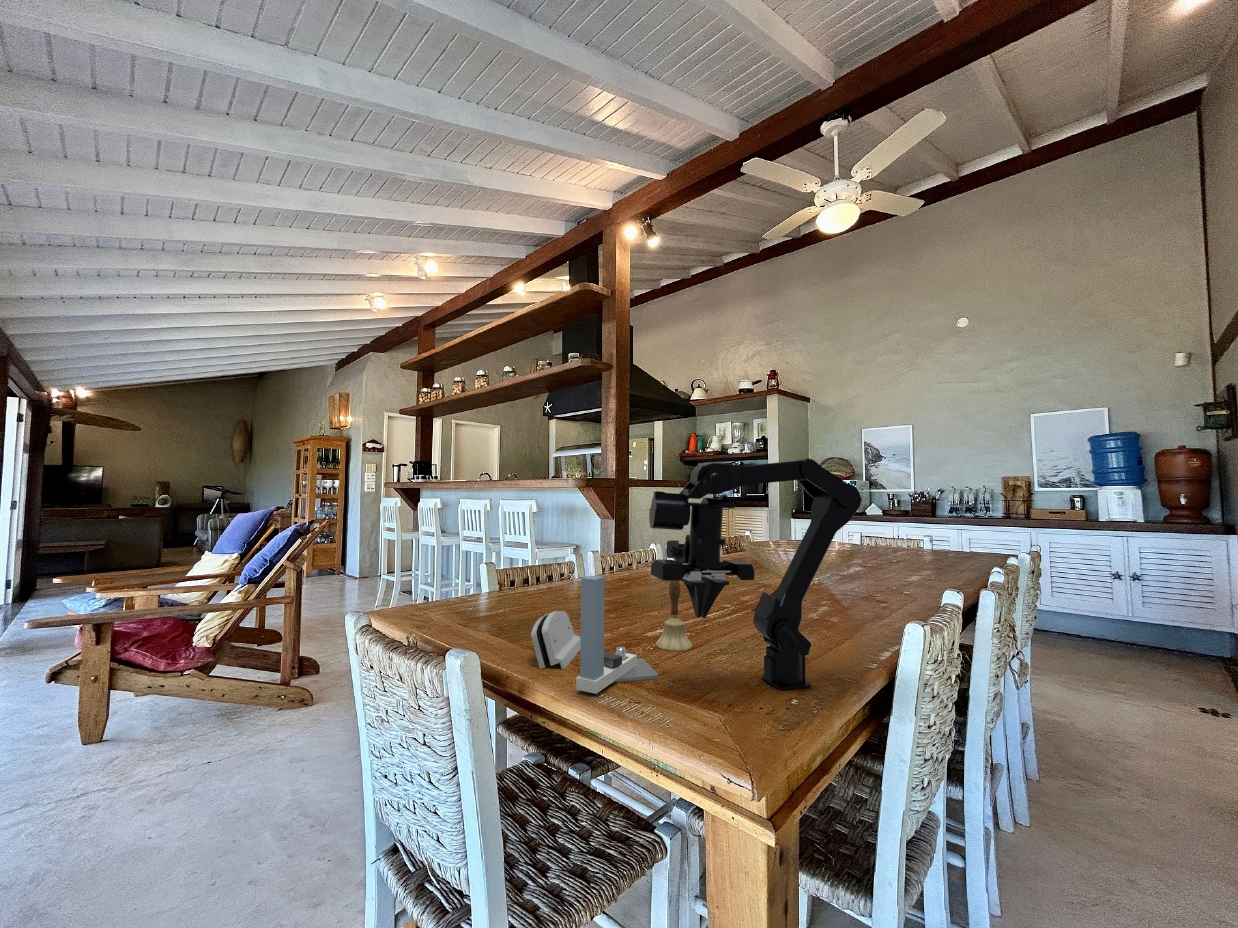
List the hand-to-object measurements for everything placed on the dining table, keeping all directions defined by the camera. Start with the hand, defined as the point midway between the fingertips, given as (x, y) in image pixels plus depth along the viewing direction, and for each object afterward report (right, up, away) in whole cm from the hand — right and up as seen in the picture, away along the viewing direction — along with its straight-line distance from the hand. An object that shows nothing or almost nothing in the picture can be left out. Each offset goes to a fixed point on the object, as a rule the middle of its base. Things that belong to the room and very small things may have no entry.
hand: (700, 617), depth 93 cm
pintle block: (-14, -12, +6) cm, 20 cm away
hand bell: (-2, -13, +23) cm, 27 cm away
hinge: (-28, -13, +15) cm, 35 cm away
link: (-17, -11, +1) cm, 20 cm away
